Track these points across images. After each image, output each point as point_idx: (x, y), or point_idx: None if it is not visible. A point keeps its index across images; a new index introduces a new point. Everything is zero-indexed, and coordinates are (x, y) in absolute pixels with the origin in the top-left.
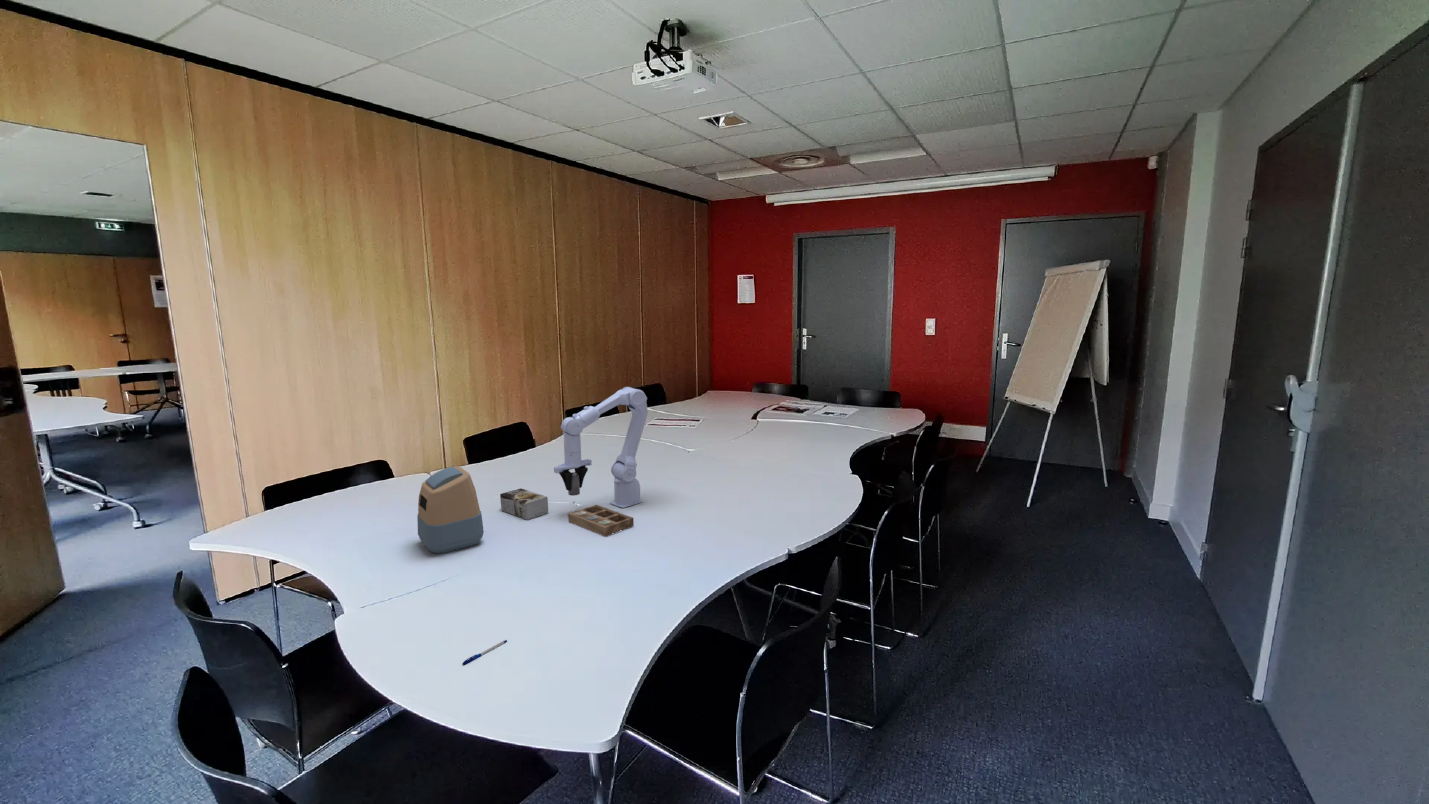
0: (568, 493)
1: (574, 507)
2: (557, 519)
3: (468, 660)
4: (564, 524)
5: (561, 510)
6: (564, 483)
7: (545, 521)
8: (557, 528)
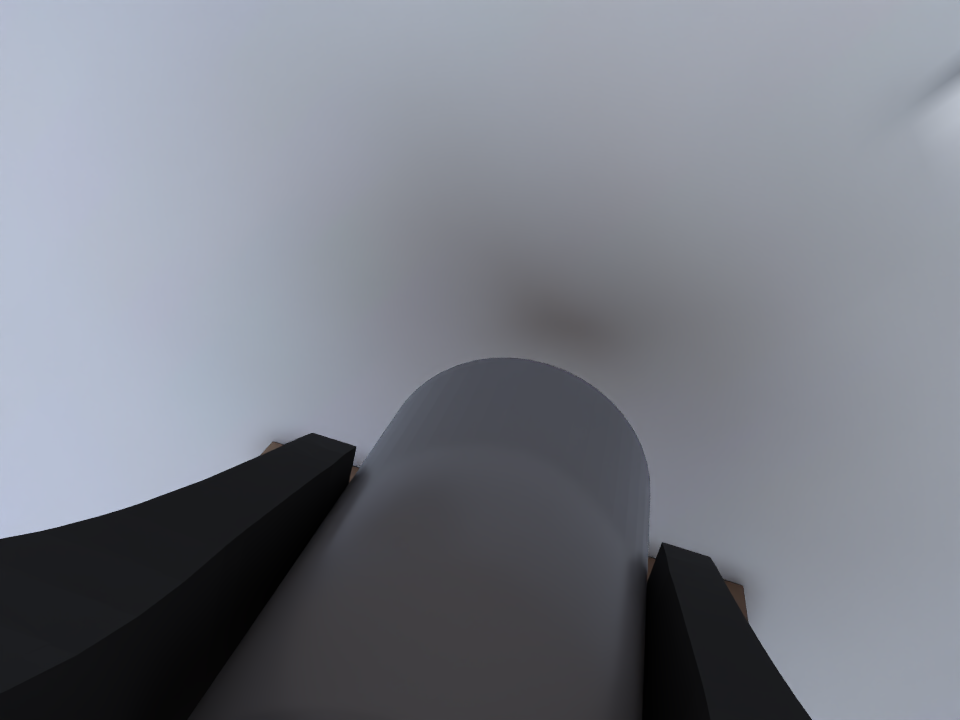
0: (399, 410)
1: (830, 118)
2: (253, 244)
3: None
4: (181, 446)
5: (592, 8)
6: (195, 488)
7: (104, 139)
8: (49, 449)
